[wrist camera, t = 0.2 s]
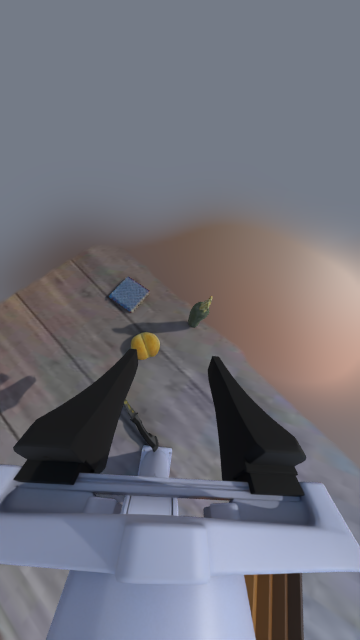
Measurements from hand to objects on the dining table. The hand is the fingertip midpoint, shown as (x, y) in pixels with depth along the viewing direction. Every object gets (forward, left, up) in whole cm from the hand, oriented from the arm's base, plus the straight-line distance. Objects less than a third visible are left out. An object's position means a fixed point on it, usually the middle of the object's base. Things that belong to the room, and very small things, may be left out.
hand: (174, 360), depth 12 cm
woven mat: (+20, +17, -31) cm, 41 cm away
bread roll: (+3, +8, -31) cm, 32 cm away
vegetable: (+13, -6, -31) cm, 34 cm away
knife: (-15, +8, -31) cm, 36 cm away
